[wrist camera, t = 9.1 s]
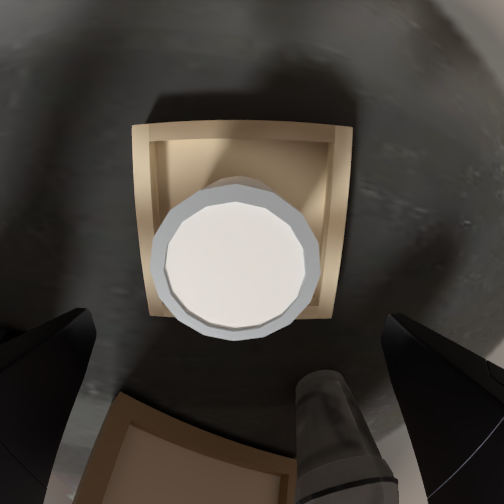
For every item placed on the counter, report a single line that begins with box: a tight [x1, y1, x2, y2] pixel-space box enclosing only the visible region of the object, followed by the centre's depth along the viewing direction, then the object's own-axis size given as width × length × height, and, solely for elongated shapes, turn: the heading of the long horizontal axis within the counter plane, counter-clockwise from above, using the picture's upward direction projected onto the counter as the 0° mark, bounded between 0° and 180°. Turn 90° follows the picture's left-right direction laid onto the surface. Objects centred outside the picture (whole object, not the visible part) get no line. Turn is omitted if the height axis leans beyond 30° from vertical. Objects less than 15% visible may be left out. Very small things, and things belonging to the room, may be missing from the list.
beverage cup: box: [294, 370, 399, 504], centre depth 15 cm, size 7×7×20 cm
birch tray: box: [132, 120, 353, 319], centre depth 18 cm, size 12×12×2 cm
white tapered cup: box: [150, 175, 321, 341], centre depth 15 cm, size 7×7×7 cm
